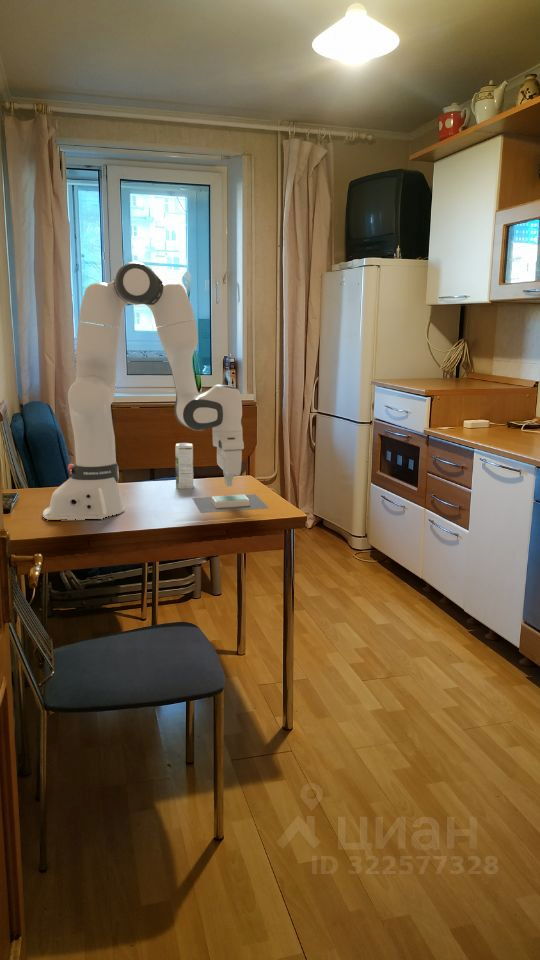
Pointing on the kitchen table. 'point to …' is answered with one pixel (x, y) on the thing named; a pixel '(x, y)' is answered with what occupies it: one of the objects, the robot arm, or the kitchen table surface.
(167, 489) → the kitchen table surface
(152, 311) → the robot arm
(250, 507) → the mat
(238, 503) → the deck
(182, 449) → the syrup box
